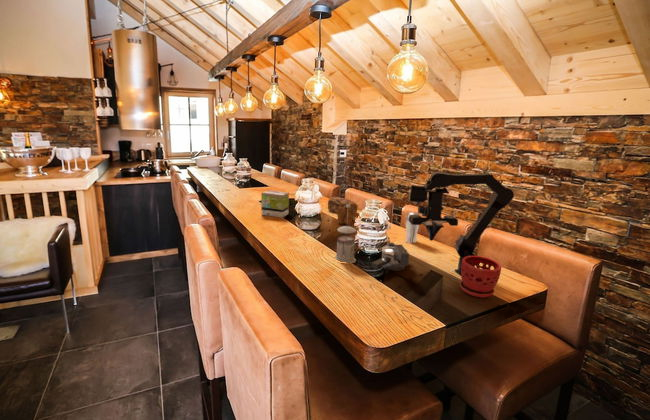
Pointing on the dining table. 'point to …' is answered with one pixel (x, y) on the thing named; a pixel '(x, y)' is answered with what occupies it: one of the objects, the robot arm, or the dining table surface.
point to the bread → (338, 203)
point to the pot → (387, 263)
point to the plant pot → (479, 276)
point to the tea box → (275, 203)
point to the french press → (345, 244)
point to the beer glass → (411, 229)
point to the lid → (397, 253)
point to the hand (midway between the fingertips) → (430, 240)
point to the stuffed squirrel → (351, 214)
